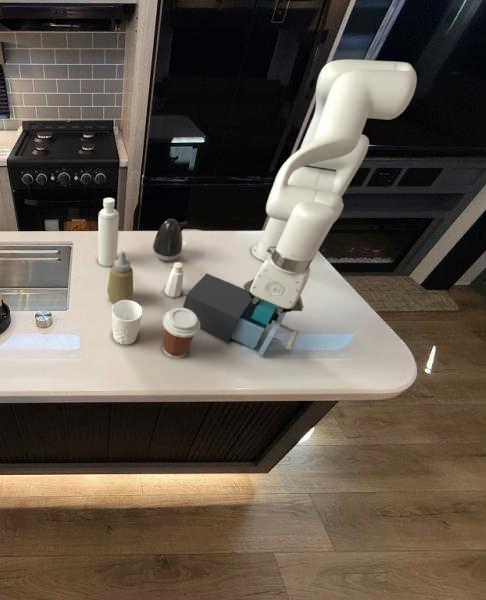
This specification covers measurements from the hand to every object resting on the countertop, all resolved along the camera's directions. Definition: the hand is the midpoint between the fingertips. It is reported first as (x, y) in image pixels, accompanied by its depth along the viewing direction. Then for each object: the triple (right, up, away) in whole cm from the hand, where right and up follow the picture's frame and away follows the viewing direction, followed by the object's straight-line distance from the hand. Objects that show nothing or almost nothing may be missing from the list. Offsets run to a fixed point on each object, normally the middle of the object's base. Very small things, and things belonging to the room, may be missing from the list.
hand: (262, 316), depth 82 cm
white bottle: (-39, +18, +33) cm, 54 cm away
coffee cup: (-22, -9, +3) cm, 24 cm away
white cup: (-35, -6, +6) cm, 36 cm away
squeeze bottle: (-36, +4, +17) cm, 40 cm away
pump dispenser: (-17, +20, +35) cm, 44 cm away
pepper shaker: (-18, +7, +20) cm, 28 cm away
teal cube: (0, 0, 0) cm, 0 cm away
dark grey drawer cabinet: (-9, -1, +11) cm, 14 cm away
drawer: (0, -5, +5) cm, 7 cm away
